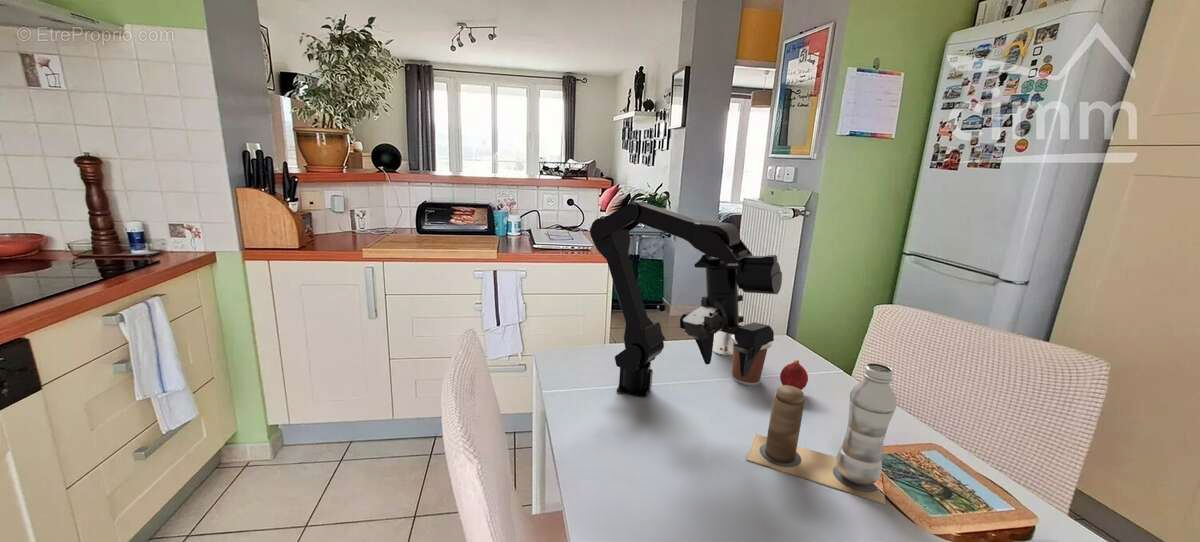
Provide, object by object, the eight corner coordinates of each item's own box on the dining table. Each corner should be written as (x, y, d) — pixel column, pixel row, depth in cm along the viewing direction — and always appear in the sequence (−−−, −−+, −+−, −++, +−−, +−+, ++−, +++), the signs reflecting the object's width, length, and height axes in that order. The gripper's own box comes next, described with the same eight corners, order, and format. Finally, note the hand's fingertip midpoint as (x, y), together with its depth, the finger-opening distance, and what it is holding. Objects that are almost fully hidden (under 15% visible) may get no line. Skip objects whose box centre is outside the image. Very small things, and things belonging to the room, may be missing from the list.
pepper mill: (772, 463, 81) (783, 398, 78) (760, 446, 86) (769, 383, 83) (800, 463, 81) (811, 398, 78) (786, 445, 86) (796, 383, 83)
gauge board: (746, 460, 82) (746, 459, 82) (755, 434, 90) (755, 433, 90) (885, 504, 73) (885, 503, 73) (881, 471, 81) (881, 470, 81)
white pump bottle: (737, 348, 130) (743, 296, 126) (735, 358, 124) (742, 304, 120) (711, 344, 132) (717, 293, 128) (708, 353, 126) (714, 300, 122)
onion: (807, 400, 103) (813, 367, 101) (780, 397, 104) (785, 363, 103) (802, 388, 109) (807, 356, 107) (776, 384, 110) (781, 353, 108)
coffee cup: (773, 387, 109) (780, 339, 106) (736, 388, 107) (742, 339, 104) (754, 369, 117) (761, 324, 114) (720, 370, 116) (725, 325, 113)
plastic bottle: (826, 465, 81) (846, 358, 76) (862, 465, 82) (885, 359, 77) (848, 491, 75) (872, 377, 70) (887, 491, 76) (914, 377, 71)
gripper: (657, 292, 92) (661, 368, 94) (730, 306, 76) (733, 397, 79) (698, 282, 98) (702, 354, 100) (774, 294, 82) (776, 379, 84)
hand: (725, 370), depth 91 cm, fingers open, 9 cm apart
